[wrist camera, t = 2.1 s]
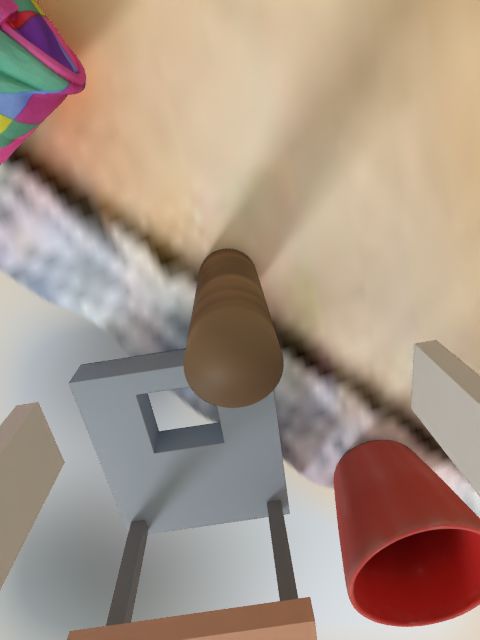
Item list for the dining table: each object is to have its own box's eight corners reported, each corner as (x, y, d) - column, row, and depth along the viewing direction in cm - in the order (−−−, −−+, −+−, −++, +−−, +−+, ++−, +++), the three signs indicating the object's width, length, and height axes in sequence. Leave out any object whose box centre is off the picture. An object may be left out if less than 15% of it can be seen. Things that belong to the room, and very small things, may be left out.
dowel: (193, 253, 25) (173, 330, 14) (252, 244, 25) (278, 314, 14) (204, 307, 27) (194, 414, 16) (259, 299, 27) (287, 400, 16)
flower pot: (292, 467, 33) (318, 580, 25) (400, 403, 31) (472, 502, 22) (351, 528, 37) (393, 646, 28) (452, 475, 35) (531, 585, 26)
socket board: (80, 364, 28) (-24, 522, 16) (264, 336, 28) (299, 475, 16) (135, 511, 35) (90, 702, 23) (285, 489, 34) (320, 670, 22)
